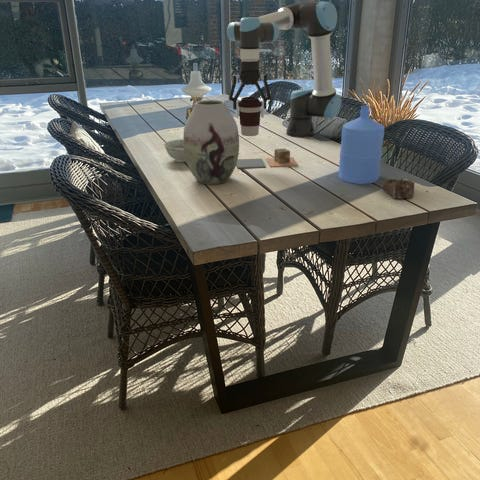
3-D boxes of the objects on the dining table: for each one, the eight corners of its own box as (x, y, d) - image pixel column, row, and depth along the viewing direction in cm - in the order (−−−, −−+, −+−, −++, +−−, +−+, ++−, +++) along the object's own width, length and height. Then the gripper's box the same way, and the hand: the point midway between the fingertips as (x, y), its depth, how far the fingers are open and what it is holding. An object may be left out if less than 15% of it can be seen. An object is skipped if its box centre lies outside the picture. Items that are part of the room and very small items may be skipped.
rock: (382, 189, 180) (384, 172, 177) (403, 189, 180) (406, 172, 178) (394, 200, 168) (396, 182, 166) (416, 200, 169) (419, 182, 166)
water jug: (371, 188, 182) (379, 111, 171) (331, 181, 190) (337, 107, 178) (384, 176, 194) (392, 104, 182) (346, 170, 202) (352, 101, 190)
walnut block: (284, 159, 215) (285, 148, 213) (289, 162, 211) (290, 151, 209) (274, 160, 214) (274, 149, 211) (279, 163, 209) (279, 152, 207)
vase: (198, 192, 180) (194, 109, 167) (177, 176, 197) (172, 100, 184) (249, 183, 189) (249, 103, 176) (225, 169, 206) (223, 95, 193)
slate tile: (261, 160, 217) (261, 158, 217) (265, 168, 206) (265, 166, 206) (234, 161, 216) (234, 159, 216) (237, 169, 205) (237, 167, 205)
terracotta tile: (292, 159, 218) (292, 157, 218) (298, 166, 208) (298, 165, 207) (266, 160, 217) (266, 158, 217) (270, 167, 207) (270, 166, 206)
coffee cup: (259, 137, 200) (259, 100, 194) (235, 136, 202) (235, 99, 196) (263, 132, 209) (263, 96, 203) (240, 131, 211) (240, 95, 205)
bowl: (206, 156, 223) (205, 140, 220) (191, 166, 210) (190, 149, 206) (174, 154, 228) (173, 138, 225) (158, 163, 214) (157, 146, 211)
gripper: (276, 58, 197) (275, 114, 207) (220, 59, 196) (222, 116, 205) (279, 60, 191) (278, 118, 200) (222, 61, 189) (223, 119, 198)
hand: (249, 117), depth 203 cm, fingers closed on coffee cup, 10 cm apart
